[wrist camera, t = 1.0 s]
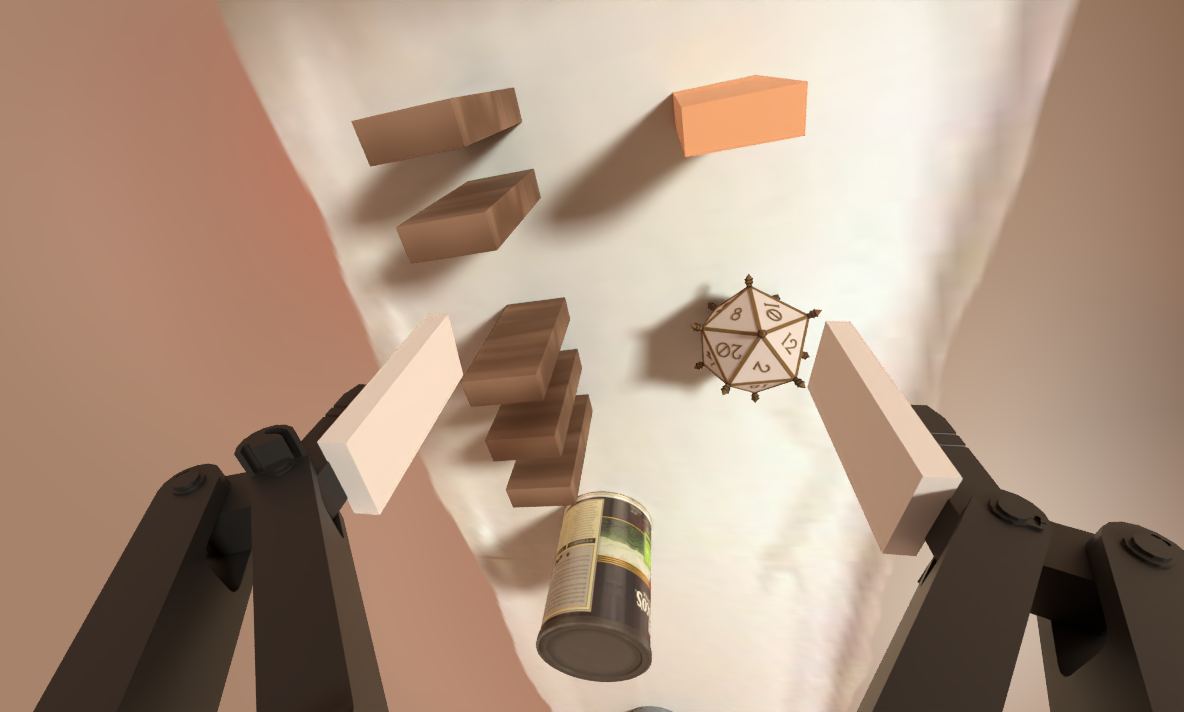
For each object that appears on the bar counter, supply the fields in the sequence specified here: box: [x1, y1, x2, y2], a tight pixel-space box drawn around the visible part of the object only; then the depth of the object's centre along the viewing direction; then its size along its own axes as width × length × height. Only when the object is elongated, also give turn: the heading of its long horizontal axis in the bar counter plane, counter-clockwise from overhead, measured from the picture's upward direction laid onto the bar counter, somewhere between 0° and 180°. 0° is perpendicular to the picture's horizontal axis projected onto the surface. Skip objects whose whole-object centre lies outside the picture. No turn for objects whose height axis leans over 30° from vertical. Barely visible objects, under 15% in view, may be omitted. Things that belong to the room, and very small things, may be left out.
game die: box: [690, 274, 822, 403], centre depth 33 cm, size 9×8×10 cm
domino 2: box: [396, 169, 541, 263], centre depth 28 cm, size 2×5×11 cm, turn 101°
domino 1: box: [351, 88, 522, 167], centre depth 26 cm, size 2×5×11 cm, turn 101°
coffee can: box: [536, 492, 652, 682], centre depth 46 cm, size 10×10×14 cm
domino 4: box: [485, 349, 582, 461], centre depth 36 cm, size 2×5×11 cm, turn 101°
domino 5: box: [506, 395, 592, 507], centre depth 38 cm, size 2×5×11 cm, turn 101°
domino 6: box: [673, 75, 808, 157], centre depth 24 cm, size 2×5×11 cm, turn 101°
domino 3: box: [461, 297, 570, 407], centre depth 33 cm, size 2×5×11 cm, turn 101°
